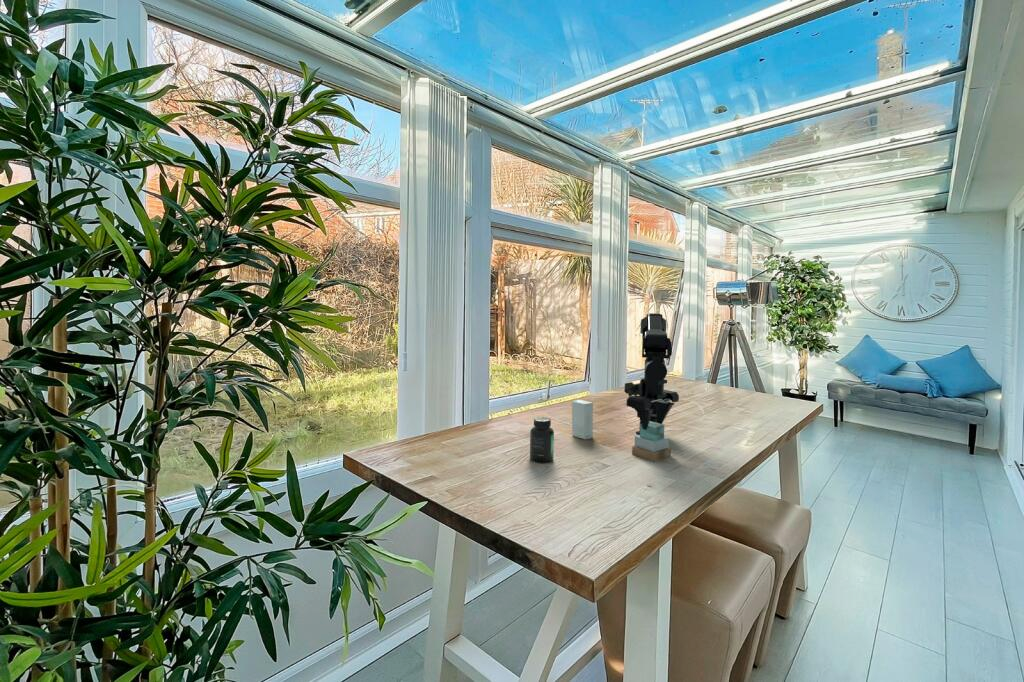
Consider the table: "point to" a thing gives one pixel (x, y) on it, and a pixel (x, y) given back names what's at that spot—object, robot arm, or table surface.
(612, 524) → the table surface
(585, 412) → the skincare box
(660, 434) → the teal cube
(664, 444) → the slate-grey top block
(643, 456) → the walnut base block
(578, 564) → the table surface
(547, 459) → the supplement bottle
